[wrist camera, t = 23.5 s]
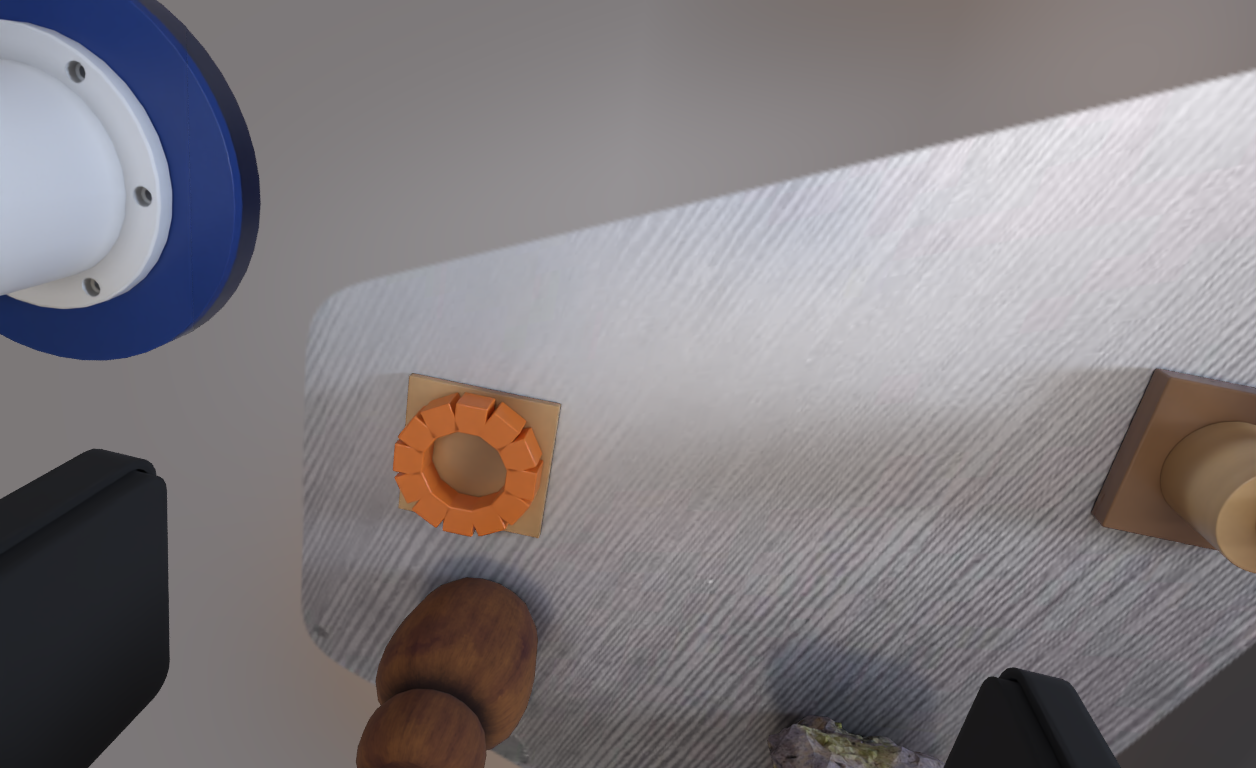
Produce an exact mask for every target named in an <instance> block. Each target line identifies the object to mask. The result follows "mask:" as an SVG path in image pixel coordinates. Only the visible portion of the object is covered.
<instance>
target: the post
mask: <svg viewBox="0 0 1256 768" xmlns="http://www.w3.org/2000/svg"><path fill="white" fill-rule="evenodd" d="M1091 514H1092V515H1093V516H1094V517H1095V518H1096V520H1097V521H1098V522H1099V523H1100V524H1101V525H1102V526H1103V527H1107V528H1112V529H1117V530H1122V531H1127V532H1131V533H1136V534H1141V535H1146V536H1151V537H1156V538H1160V539H1165V540H1170V541H1175V542H1180V543H1184V544H1189V545H1194V546H1199V547H1204V548H1208V549H1213V550H1218V551H1219V552H1220V553H1221V554H1222V555H1223V556H1224V557H1225V558H1226V559H1228V560H1229V561H1230V562H1231V563H1233V564H1234V565H1236V566H1237V567H1239V568H1241V569H1243V570H1246V571H1249V572H1252V573H1256V388H1254V387H1249V386H1244V385H1239V384H1234V383H1229V382H1224V381H1219V380H1214V379H1209V378H1204V377H1199V376H1194V375H1189V374H1184V373H1179V372H1174V371H1169V370H1164V369H1156V370H1155V371H1154V374H1153V376H1152V378H1151V380H1150V383H1149V385H1148V387H1147V389H1146V391H1145V394H1144V396H1143V398H1142V400H1141V403H1140V405H1139V407H1138V409H1137V412H1136V414H1135V416H1134V418H1133V420H1132V423H1131V425H1130V427H1129V429H1128V432H1127V434H1126V436H1125V438H1124V441H1123V443H1122V445H1121V447H1120V449H1119V452H1118V454H1117V456H1116V458H1115V461H1114V463H1113V465H1112V467H1111V469H1110V472H1109V474H1108V476H1107V478H1106V481H1105V483H1104V485H1103V487H1102V490H1101V492H1100V494H1099V496H1098V498H1097V501H1096V503H1095V505H1094V507H1093V510H1092V512H1091Z"/></svg>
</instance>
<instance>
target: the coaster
mask: <svg viewBox="0 0 1256 768" xmlns="http://www.w3.org/2000/svg"><path fill="white" fill-rule="evenodd" d="M466 392H467V393H472V394H476V395H481V396H486V397H491V398H495V408H494V410H495V409H496V408H497V407H498V406H499V404H500V403H501V402H503V403H505V404H506V405H507V406H508V407H510V408H511V409H512V410H513V411H515V412H516V413H517V414H518V415H520V416H521V417H522V418H523V419H525V420H526V423H525V425H524V427H523V428H522V429H526V428H529V427H531V428H532V430H533V433H534V435H535V437H536V440H537V442H538V444H539V447H540V449H541V451H542V455H541V458H540V460H543V468H542V474H541V481H540V487H539V489H538V491H537V493H536V495H535V498H534V500H533V501H532V503H531V506H530V507H529V509H528V510H527V511H526V512H525V513H524V514H523V515H522V516H521V517H520V518H519V519H518V520H517V521H516V522H515V524H514V525H510V524H508V526H507V528H506V529H505V530H503V531H508V532H512V533H517V534H522V535H526V536H531V537H536V538H539V536H540V533H541V527H542V520H543V514H544V508H545V502H546V495H547V489H548V483H549V476H550V470H551V464H552V457H553V451H554V445H555V439H556V432H557V426H558V420H559V413H560V407H561V404H558V403H554V402H549V401H544V400H539V399H534V398H530V397H525V396H520V395H515V394H510V393H505V392H501V391H496V390H491V389H486V388H481V387H477V386H472V385H467V384H462V383H457V382H452V381H448V380H443V379H438V378H433V377H428V376H424V375H419V374H414V373H412V374H411V375H410V376H409V386H408V398H407V410H406V423H405V427H406V426H407V424H408V423H409V422H410V421H411V419H412V418H413V417H414V416H415V415H416V414H417V413H418V411H419V410H420V409H421V408H422V407H423V406H427V405H428V403H429V402H430V401H432V400H435V399H438V398H441V397H445V396H448V395H451V394H454V393H459V395H460V398H461V397H462V396H463V394H464V393H466ZM432 462H433V464H434V466H435V468H436V470H437V472H438V474H439V476H440V478H441V479H442V480H443V481H444V482H445V483H447V484H448V485H449V486H451V487H452V488H453V489H454V490H456V491H457V492H458V493H462V494H466V495H471V496H476V497H482V496H486V495H489V494H493V493H496V492H498V491H499V490H500V489H501V488H502V487H503V486H504V485H505V479H506V472H507V470H506V468H505V466H504V463H503V461H502V459H501V457H500V454H499V452H498V451H497V450H496V449H495V448H493V447H492V446H491V445H490V444H488V443H487V442H486V441H485V440H483V439H482V438H481V437H479V436H475V435H470V434H465V433H460V432H456V433H453V434H449V435H446V436H443V437H439V438H437V439H436V440H435V441H434V447H433V457H432ZM416 502H417V501H415V502H411V503H407V502H406V500H405V498H404V496H403V494H402V492H401V490H400V496H399V508H400V509H405V510H410V511H413V510H412V508H413V506H414V505H415V504H416Z"/></svg>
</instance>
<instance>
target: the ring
mask: <svg viewBox="0 0 1256 768" xmlns="http://www.w3.org/2000/svg"><path fill="white" fill-rule="evenodd" d="M494 408H495V398H491V397H486V396H481V395H476V394H472V393H467V392H466V393H464V394H463V396H462V397H461V398H460V395H459V393H454V394H451V395H448V396H445V397H441V398H438V399H435V400H432V401H430V402H429V403H428V405H427V406H423V407H422V408H421V409H420V410H419V411H418V413H417V414H416V415H415V416H414V417H413V418H412V419H411V421H410V422H409V423H408V424H407V426H406V427H405V428H404V429H403V430H402V432H401V433H400V434H399V435H398V438H399V440H398V441H397V442H396V443H395V450H394V463H393V471H396V472H399V473H398V474H397V475H396V476H395V480H396V482H397V484H398V486H399V488H400V490H401V492H402V494H403V496H404V498H405V500H406V502H407V503H411V502H415V501H417V502H416V504H415V505H414V506H413V508H412V510H413V511H414V512H416V513H417V514H418V515H419V516H421V517H422V518H423V519H425V520H426V521H427V522H429V523H430V524H431V525H433V526H434V527H435V528H436V527H437V526H438V525H439V524H440V523H441V522H442V521H443V520H444V521H443V531H446V532H451V533H456V534H460V535H465V536H470V537H472V535H473V534H474V532H475V530H476V531H477V534H478V536H483V535H487V534H491V533H494V532H498V531H502V530H505V529H506V528H507V526H508V524H510V525H514V524H515V522H516V521H517V520H518V519H519V518H520V517H521V516H522V515H523V514H524V513H525V512H526V511H527V510H528V509H529V507H530V506H531V503H532V501H533V500H534V498H535V495H536V493H537V491H538V489H539V487H540V481H541V474H542V468H543V460H540V458H541V455H542V451H541V449H540V447H539V444H538V442H537V440H536V437H535V435H534V433H533V430H532V428H531V427H529V428H526V429H522V428H523V427H524V425H525V423H526V420H525V419H523V418H522V417H521V416H520V415H518V414H517V413H516V412H515V411H513V410H512V409H511V408H510V407H508V406H507V405H506V404H505V403H503V402H501V403H500V404H499V406H498V407H497V408H496V409H495V410H494ZM456 432H460V433H465V434H470V435H475V436H479V437H481V438H482V439H483V440H485V441H486V442H487V443H488V444H490V445H491V446H492V447H493V448H495V449H496V450H497V451H498V452H499V454H500V457H501V459H502V461H503V463H504V466H505V468H506V470H507V472H506V479H505V485H504V486H503V487H502V488H501V489H500V490H499V491H498V492H496V493H493V494H489V495H486V496H482V497H476V496H471V495H466V494H462V493H458V492H457V491H456V490H454V489H453V488H452V487H451V486H449V485H448V484H447V483H445V482H444V481H443V480H442V479H441V478H440V476H439V474H438V472H437V470H436V468H435V466H434V464H433V462H432V457H433V447H434V441H435V440H436V439H437V438H439V437H443V436H446V435H449V434H453V433H456Z"/></svg>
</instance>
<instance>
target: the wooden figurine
mask: <svg viewBox="0 0 1256 768" xmlns="http://www.w3.org/2000/svg"><path fill="white" fill-rule="evenodd" d="M537 643H538V638H537V630H536V626H535V623H534V621H533V619H532V617H531V614H530V612H529V610H528V608H527V606H526V603H524V602H523V601H522V600H521V599H520V598H519V597H518V596H517V595H516V594H515V593H514V592H512V591H511V590H509V589H507V588H506V587H504V586H502V585H501V584H499V583H495V582H492V581H489V580H486V579H481V578H468V577H466V578H463V579H459V580H456V581H453V582H449V583H447V584H444V585H441V586H439V587H438V588H437V589H435V590H434V591H432V592H431V593H430V594H429V595H428V596H427V597H426V598H425V599H424V600H423V601H422V602H421V603H420V604H419V605H418V606H417V607H416V608H415V609H414V610H413V611H412V612H411V613H410V614H409V615H408V616H407V617H406V618H405V619H404V621H403V622H402V624H401V625H400V626H399V628H398V629H397V630H396V632H395V633H394V635H393V636H392V638H391V640H390V641H389V643H388V644H387V646H386V648H385V651H384V653H383V656H382V658H381V661H380V663H379V666H378V671H377V676H376V688H377V696H378V701H379V703H380V705H381V706H380V707H379V708H377V710H376V711H375V712H374V714H373V715H372V716H371V718H370V719H369V721H368V723H367V725H366V727H365V730H364V732H363V734H362V737H361V740H360V743H359V745H358V750H357V758H356V764H357V768H484V765H485V760H486V750H490V749H492V748H494V747H495V746H497V745H498V744H500V743H501V742H503V741H504V740H505V739H507V738H508V737H509V736H510V734H511V733H512V732H513V730H514V729H515V728H516V726H517V725H518V723H519V721H520V719H521V717H522V715H523V714H524V712H525V710H526V708H527V705H528V701H529V698H530V695H531V691H532V687H533V682H534V677H535V667H536V654H537Z"/></svg>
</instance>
